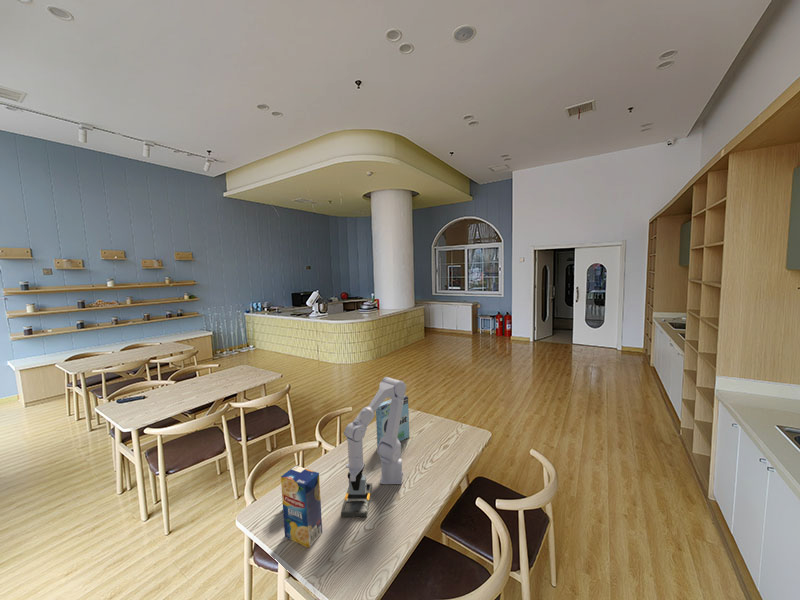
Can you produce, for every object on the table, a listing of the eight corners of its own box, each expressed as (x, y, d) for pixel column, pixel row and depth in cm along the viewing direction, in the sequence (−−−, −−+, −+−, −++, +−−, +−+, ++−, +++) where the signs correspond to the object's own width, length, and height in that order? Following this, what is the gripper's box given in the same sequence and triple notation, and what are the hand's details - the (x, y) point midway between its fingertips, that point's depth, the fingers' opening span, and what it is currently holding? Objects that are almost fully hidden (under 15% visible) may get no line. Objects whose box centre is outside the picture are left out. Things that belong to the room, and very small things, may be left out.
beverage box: (299, 522, 115) (295, 465, 113) (322, 532, 110) (319, 473, 108) (284, 536, 109) (280, 476, 107) (308, 548, 104) (305, 485, 102)
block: (349, 494, 123) (348, 479, 123) (350, 489, 126) (350, 475, 126) (365, 494, 123) (364, 479, 122) (366, 489, 126) (366, 475, 125)
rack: (372, 487, 133) (372, 482, 133) (367, 517, 117) (366, 511, 116) (349, 487, 133) (349, 482, 133) (340, 517, 117) (340, 511, 117)
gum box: (382, 451, 160) (381, 407, 158) (376, 447, 164) (374, 405, 162) (410, 437, 173) (408, 396, 171) (403, 433, 177) (402, 394, 175)
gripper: (349, 444, 131) (350, 475, 132) (341, 465, 116) (342, 499, 117) (366, 443, 130) (367, 475, 131) (360, 465, 116) (361, 499, 117)
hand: (357, 486), depth 124 cm, fingers closed on block, 3 cm apart
